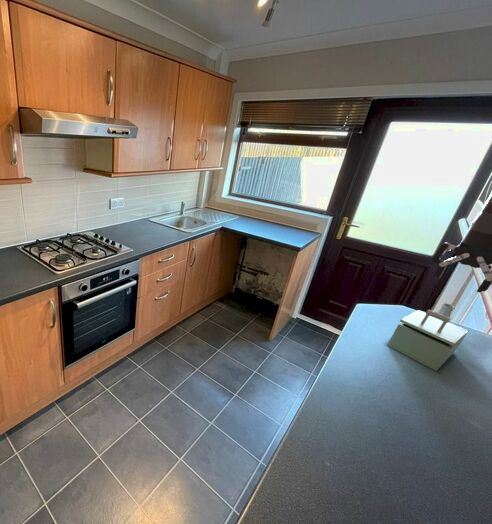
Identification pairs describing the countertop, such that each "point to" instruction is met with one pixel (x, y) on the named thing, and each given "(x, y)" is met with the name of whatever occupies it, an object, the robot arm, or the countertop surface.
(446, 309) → the flask
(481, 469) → the countertop surface
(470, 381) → the countertop surface
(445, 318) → the lid
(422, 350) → the green hinged box
